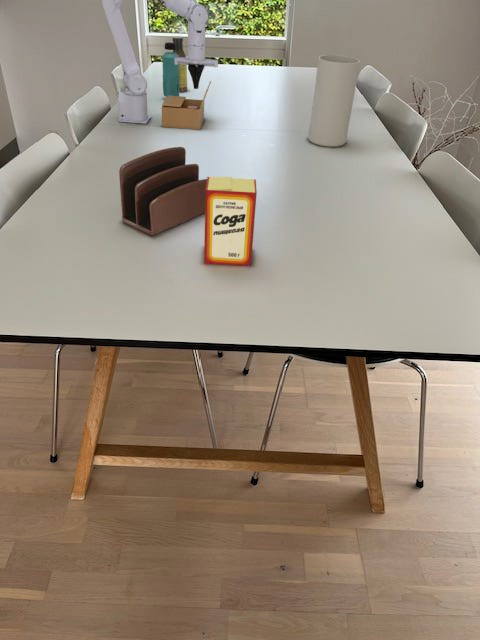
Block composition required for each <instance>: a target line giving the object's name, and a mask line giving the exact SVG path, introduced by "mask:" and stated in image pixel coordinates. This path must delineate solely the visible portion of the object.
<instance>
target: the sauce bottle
mask: <svg viewBox="0 0 480 640" xmlns="http://www.w3.org/2000/svg"><path fill="white" fill-rule="evenodd" d="M172 43H175V46H176V50H172V52H174V53H176V54H177V55H178V56H179V57H181V58H187V55H186V53H185V51H184V45H183V43H184V37H183V36H177V35H176V36H172ZM179 77H180V78H179V80H180V82H179V84H180V85H179V87H180V92H179V93H183V92H186V91H188V65H181V64H179Z"/></svg>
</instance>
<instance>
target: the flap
mask: <svg viewBox="0 0 480 640" xmlns="http://www.w3.org/2000/svg"><path fill="white" fill-rule="evenodd" d="M211 83H212V80H210V81H209V83H208V85H207V88H206V89H205V93H204V94H203V95H204V96H203V98H202V100H203V101H202V103H201V106H202V104H203V102H204V103H205V99H206V97H207V95H208V91H209V89H210V86H211ZM201 106H200V108H201Z"/></svg>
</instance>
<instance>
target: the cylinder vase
mask: <svg viewBox="0 0 480 640" xmlns="http://www.w3.org/2000/svg"><path fill="white" fill-rule="evenodd" d="M360 63H361V60H360V59H359V58H355V57H351V56H346V55H337V54H324V55H320V56H318V61H317V68H316V75H315V82H314V90H313V98H312V106H311V113H310V121H309V122H310V123H309V129H308V140H309V142H311V143H312V144H314V145H317V146H321V147H328V148H330V147H331V148H335V147H336V148H337V147H341V146H344V145H345V144H346V143H347V138H348V132H349V126H350V121H351V114H352V110H353V109H352V108H353V105H354V104H353V103H354V98H355V93H356V87H357V80H358V75H359V70H360Z"/></svg>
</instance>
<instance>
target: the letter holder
mask: <svg viewBox="0 0 480 640" xmlns="http://www.w3.org/2000/svg"><path fill="white" fill-rule="evenodd" d="M186 154H187V153H186V148H185V147H183V146H174V147H166V148H163V149H159V150H156V151H152V152H150V153H146V154H144V155H141V156H139V157H136V158H134V159H132V160H130V161H127V162H125V163H124V164H122V165H121V166H120V167H119V170H118V171H119V173H118V174H119V175H118V176H119V191H120V204H121V205H120V206H121V218H122V223H123V224H126V225H128V226H130V227H133V228H134V229H137V230H139V231H141V232H143V233H145V234H147V235H149V236H151V237H153V236H156V235H157V234H160V233H162V232H164V231H167V230H169V229H171V228H174V227H176V226H178V225H180V224H183V223H185V222H187V221H190V220H191V219H194V218H197V217H199V216H201V215H204V214H205V192H206V183H207V178H204V179H200V178H199V177H200V166H199V164H198V163H190V164H186V157H187V156H186Z"/></svg>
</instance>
